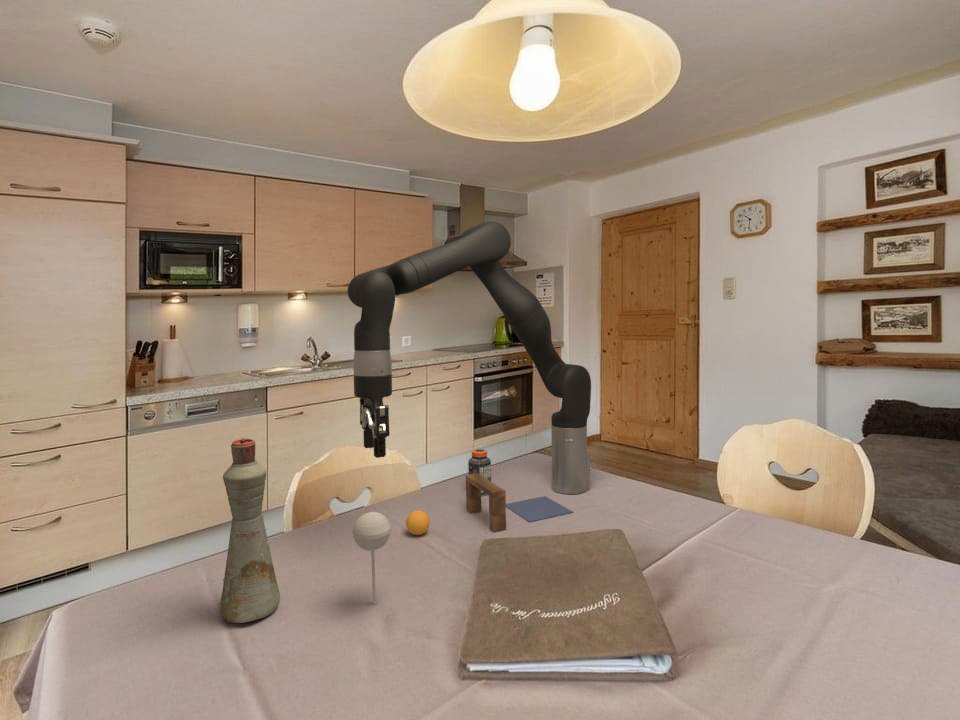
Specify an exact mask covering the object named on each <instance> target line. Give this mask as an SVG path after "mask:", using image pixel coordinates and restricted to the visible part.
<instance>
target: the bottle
mask: <svg viewBox="0 0 960 720" xmlns="http://www.w3.org/2000/svg"><path fill="white" fill-rule="evenodd" d="M230 448H231V457H232V463H231V465H230V466H229V467H228V468H227V469H226V471H224V473H223V476H222V479H223V484H224V486H225V491H226V495H227V501H228V504H229V507H230V509H229V510H230V513H231V517H232V518H231V523H230V524H231V525H230V534H229V541H228V548H227V556H226V561H225V562H226V563H225V571H224V578H223V579H222V581H223V582H222V583H223V585H222V591H221V592H222V593H221V597H220V603H219V605H220V606H219V612H220V615H221V617H223V621H225V622H226V623H231V624H245V623H248V622H253V621H257V620H261V619H264V618H265V617H267V616H270V615H273V614H274V612H275V610H276V609H277V607H278V605H279V604H280V602H281V601H280V600H281V594H280V593H281V592H280V590H279V589H280V588H279V585H278V581H277V577H276V572H275V568H274V567H275V566H274V563H273V558H272V554H271V550H270V545H269V538H268V535H267V530H266V526H265V522H264V517H263V513H262V510H263V503H264V502H263V501H264V495H265V492H264V491H265V487H266V486H265V485H266V481H267V480H266V479H267V469H266V467H265V466H264V465H262V464H261V463H260V462H258V460H257V459H256V441H255V440H254V439H252V438H245V437H242V438H241V439H237V440H234V441H232V443H231V445H230Z"/></svg>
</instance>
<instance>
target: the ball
mask: <svg viewBox="0 0 960 720" xmlns="http://www.w3.org/2000/svg"><path fill="white" fill-rule="evenodd" d="M405 521H406V522H405V526H406V529H407V531H408V532H409V533H410V534H412V535H415V536H420V535H424V534H425V533H426V532H427V531H428V530H429V527H430V525H431V524H430V522H431V521H430V516H429V515H428V513H426V512H424V511H422V510H419V509H418V510H414V511H412V512H411V513H409V514H408V516H407V517H406V520H405Z"/></svg>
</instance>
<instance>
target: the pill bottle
mask: <svg viewBox="0 0 960 720" xmlns="http://www.w3.org/2000/svg"><path fill="white" fill-rule="evenodd" d="M467 463H468V475H469V474H476V473H478V474H479V475H481V476H483V477H484V478H486V479H487V480H489V481H491V482H492V461H491V459H490V458H489V457H488V450H487V449H485V448H475V449H473V450H471V457H470V458H469V460H468V462H467ZM481 495H484V496H488V495H487V494H486V493H484V492H483V491H481Z"/></svg>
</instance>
